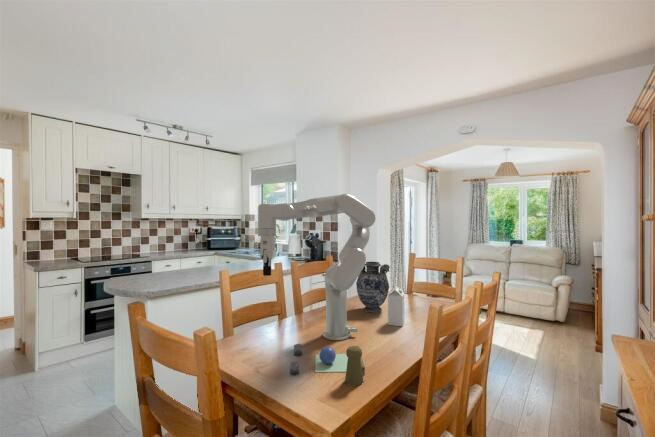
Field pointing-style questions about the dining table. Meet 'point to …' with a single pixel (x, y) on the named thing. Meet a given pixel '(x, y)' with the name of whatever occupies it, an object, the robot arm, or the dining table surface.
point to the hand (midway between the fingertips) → (267, 275)
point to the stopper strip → (362, 366)
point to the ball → (327, 355)
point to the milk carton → (396, 307)
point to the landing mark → (332, 364)
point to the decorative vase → (373, 286)
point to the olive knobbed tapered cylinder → (354, 366)
